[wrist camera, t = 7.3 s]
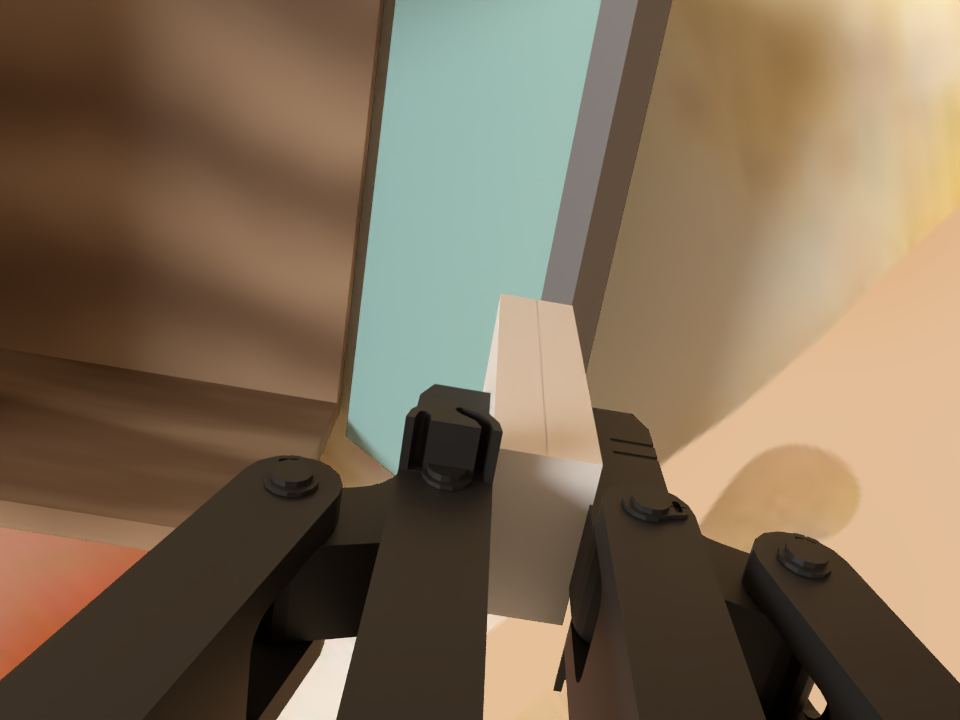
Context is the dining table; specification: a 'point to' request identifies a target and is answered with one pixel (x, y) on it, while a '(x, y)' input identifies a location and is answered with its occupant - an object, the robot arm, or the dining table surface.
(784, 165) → the dining table surface
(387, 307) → the panel
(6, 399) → the crate
